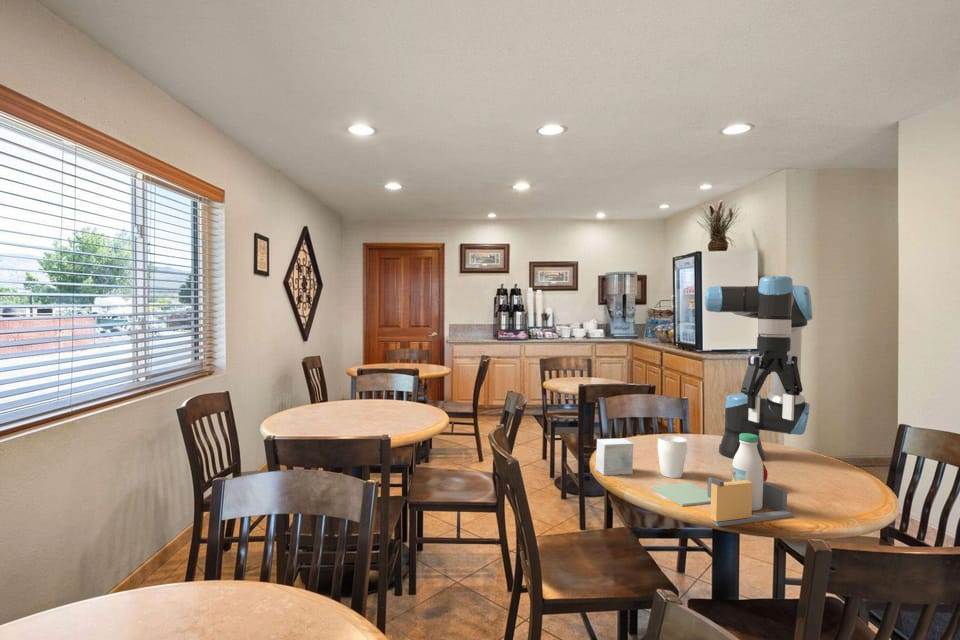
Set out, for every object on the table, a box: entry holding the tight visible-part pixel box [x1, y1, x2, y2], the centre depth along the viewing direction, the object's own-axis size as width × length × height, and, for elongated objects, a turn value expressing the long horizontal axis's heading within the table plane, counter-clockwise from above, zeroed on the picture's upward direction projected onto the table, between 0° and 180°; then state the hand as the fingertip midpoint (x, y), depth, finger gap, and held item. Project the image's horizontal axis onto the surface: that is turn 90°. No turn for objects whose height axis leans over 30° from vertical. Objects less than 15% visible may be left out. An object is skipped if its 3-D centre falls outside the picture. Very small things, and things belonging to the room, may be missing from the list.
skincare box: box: [595, 437, 634, 476], centre depth 164 cm, size 10×6×10 cm, turn 102°
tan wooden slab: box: [709, 477, 753, 522], centre depth 126 cm, size 11×3×10 cm, turn 106°
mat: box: [650, 482, 711, 507], centre depth 145 cm, size 14×14×1 cm
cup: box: [657, 434, 688, 479], centre depth 162 cm, size 9×9×12 cm
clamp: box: [707, 477, 794, 527], centre depth 135 cm, size 25×16×6 cm, turn 106°
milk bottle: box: [731, 433, 764, 512], centre depth 137 cm, size 8×8×20 cm
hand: (770, 420), depth 129 cm, fingers open, 10 cm apart
